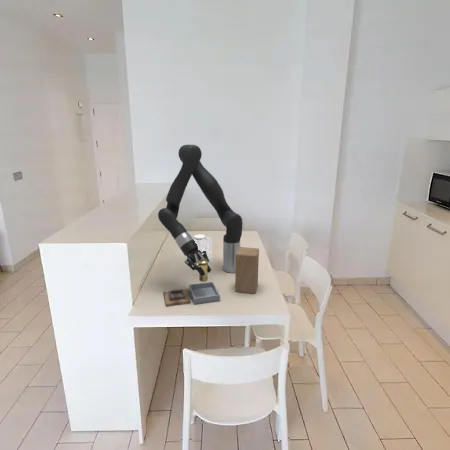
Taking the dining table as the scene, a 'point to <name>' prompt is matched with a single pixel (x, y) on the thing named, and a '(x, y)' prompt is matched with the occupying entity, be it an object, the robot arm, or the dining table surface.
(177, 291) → the pin dock
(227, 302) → the dining table surface
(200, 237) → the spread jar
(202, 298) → the tray
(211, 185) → the robot arm
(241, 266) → the wooden block
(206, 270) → the pin
